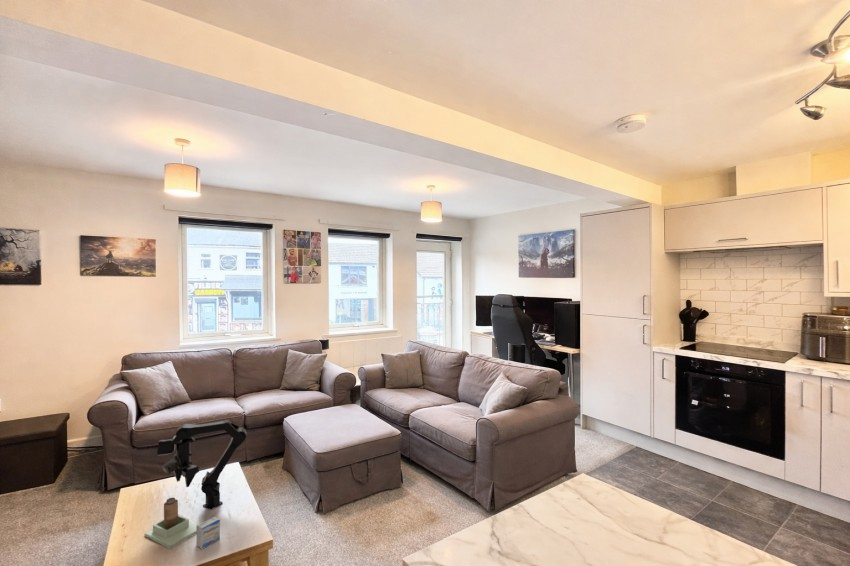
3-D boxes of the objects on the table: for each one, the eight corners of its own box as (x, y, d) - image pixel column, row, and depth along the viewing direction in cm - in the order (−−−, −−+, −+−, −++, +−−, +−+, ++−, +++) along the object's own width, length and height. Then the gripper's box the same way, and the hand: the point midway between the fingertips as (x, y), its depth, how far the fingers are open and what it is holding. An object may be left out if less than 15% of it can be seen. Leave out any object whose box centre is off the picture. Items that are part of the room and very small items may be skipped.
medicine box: (201, 549, 164) (201, 528, 164) (195, 545, 166) (196, 525, 166) (220, 539, 170) (220, 519, 170) (214, 535, 173) (214, 515, 173)
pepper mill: (180, 526, 176) (180, 497, 176) (169, 533, 171) (168, 504, 171) (173, 523, 178) (172, 495, 178) (161, 530, 174) (161, 501, 173)
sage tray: (202, 530, 176) (202, 520, 176) (169, 548, 164) (169, 538, 164) (177, 518, 184) (177, 509, 184) (144, 535, 172) (144, 526, 172)
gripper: (155, 452, 189) (155, 485, 189) (174, 463, 179) (174, 497, 179) (180, 444, 198) (180, 476, 198) (200, 454, 188) (199, 487, 188)
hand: (182, 484), depth 190 cm, fingers open, 9 cm apart
